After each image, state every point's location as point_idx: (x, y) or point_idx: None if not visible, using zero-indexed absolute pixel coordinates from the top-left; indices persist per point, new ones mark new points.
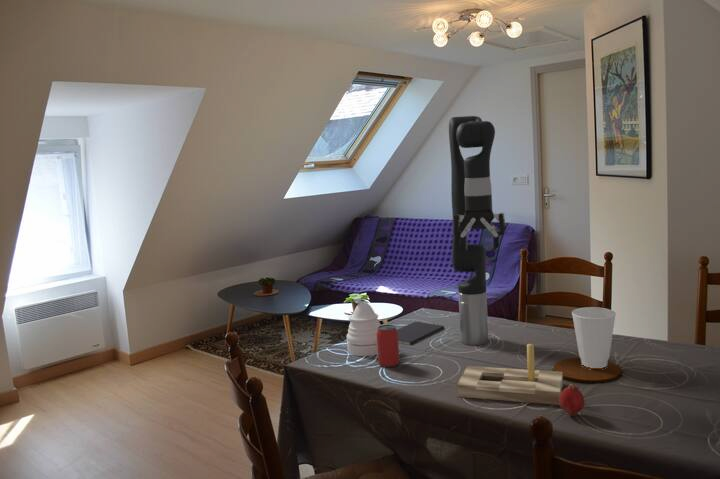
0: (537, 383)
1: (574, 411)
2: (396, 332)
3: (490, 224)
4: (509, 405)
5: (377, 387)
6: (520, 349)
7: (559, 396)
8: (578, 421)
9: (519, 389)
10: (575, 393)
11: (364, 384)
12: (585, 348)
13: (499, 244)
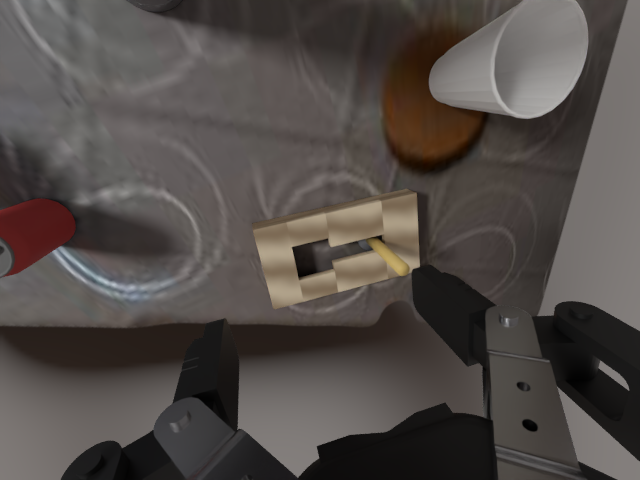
0: None
1: None
2: (24, 243)
3: (534, 415)
4: (350, 291)
5: (124, 325)
6: (293, 11)
7: None
8: None
9: (366, 284)
10: None
11: (90, 326)
12: (462, 106)
13: (460, 280)
